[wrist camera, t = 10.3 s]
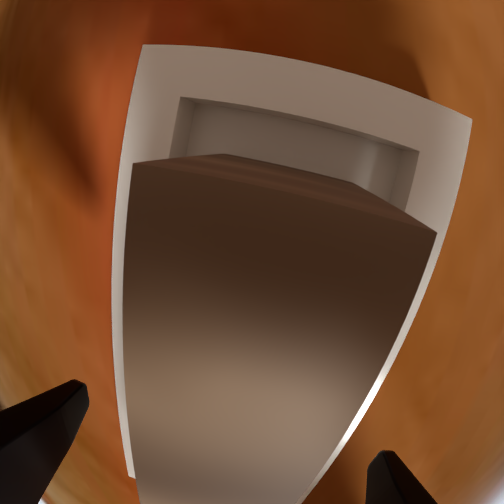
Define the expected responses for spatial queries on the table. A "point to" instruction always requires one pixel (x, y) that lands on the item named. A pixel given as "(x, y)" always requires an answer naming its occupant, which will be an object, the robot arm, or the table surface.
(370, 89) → the slot tray
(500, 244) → the table surface
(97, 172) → the table surface
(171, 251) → the walnut block
